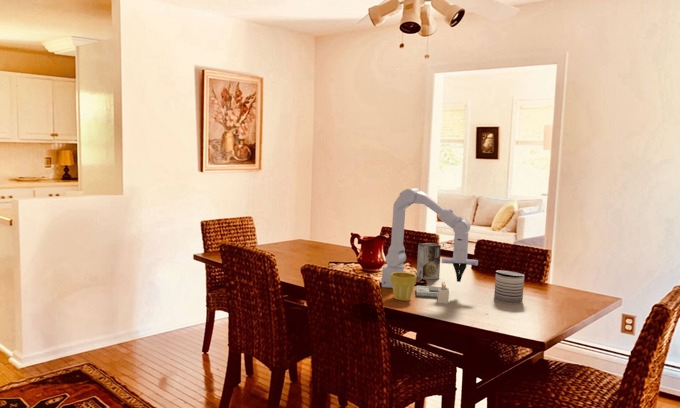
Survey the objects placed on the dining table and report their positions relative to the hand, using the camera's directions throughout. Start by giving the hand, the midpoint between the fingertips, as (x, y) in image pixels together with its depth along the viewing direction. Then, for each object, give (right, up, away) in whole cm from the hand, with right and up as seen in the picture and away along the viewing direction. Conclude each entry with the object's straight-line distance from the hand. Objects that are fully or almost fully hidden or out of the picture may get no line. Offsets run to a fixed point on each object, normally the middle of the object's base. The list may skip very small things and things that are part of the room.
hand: (458, 281), depth 233 cm
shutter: (-9, -4, +2) cm, 10 cm away
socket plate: (-11, -6, +2) cm, 13 cm away
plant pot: (-24, -6, -6) cm, 25 cm away
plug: (-8, -7, -8) cm, 14 cm away
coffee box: (-8, -3, +32) cm, 33 cm away
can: (+20, -8, -2) cm, 22 cm away
